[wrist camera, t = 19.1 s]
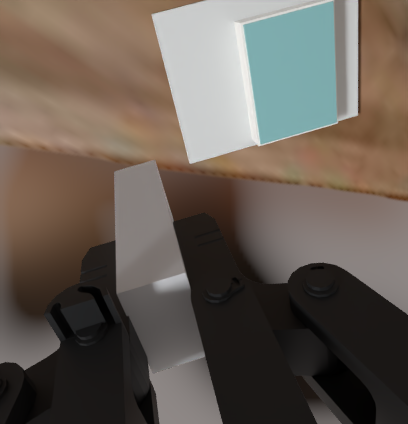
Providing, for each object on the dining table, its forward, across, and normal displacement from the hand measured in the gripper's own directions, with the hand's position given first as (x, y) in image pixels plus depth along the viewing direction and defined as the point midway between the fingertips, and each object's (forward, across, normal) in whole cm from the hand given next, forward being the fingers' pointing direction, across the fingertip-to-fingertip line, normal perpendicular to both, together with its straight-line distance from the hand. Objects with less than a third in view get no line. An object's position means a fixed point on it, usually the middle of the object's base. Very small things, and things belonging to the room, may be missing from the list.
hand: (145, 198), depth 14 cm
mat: (+26, +14, -3) cm, 30 cm away
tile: (+25, +11, -4) cm, 27 cm away
